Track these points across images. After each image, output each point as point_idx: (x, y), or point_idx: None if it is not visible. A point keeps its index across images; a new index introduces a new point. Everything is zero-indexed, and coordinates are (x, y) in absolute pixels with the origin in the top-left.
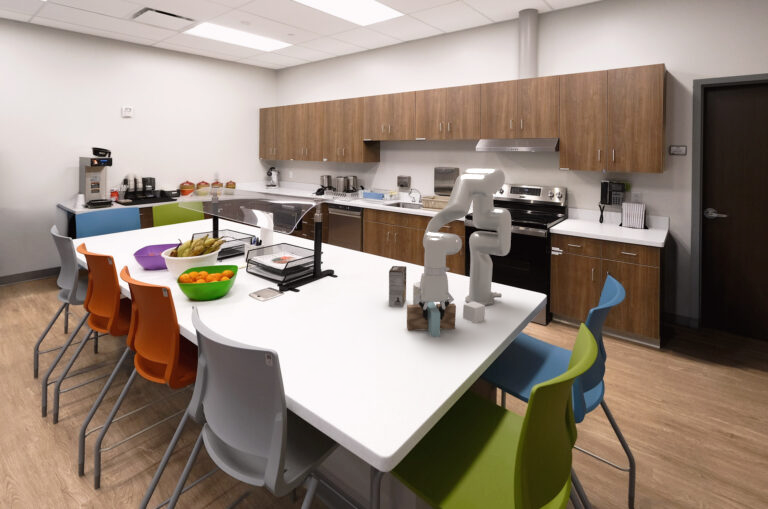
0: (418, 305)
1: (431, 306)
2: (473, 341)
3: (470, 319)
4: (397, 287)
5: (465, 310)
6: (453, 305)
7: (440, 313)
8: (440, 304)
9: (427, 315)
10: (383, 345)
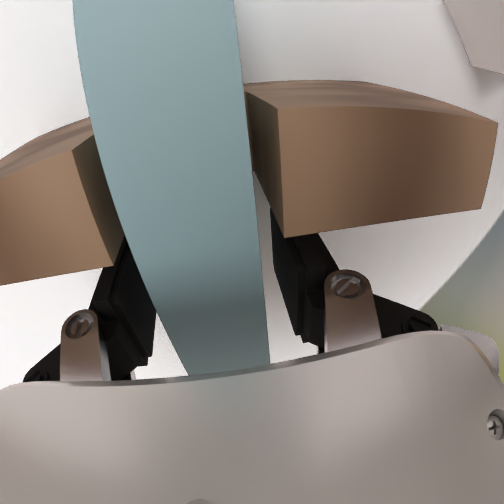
0: (6, 229)
1: (183, 246)
2: (385, 281)
3: (468, 41)
4: None
5: (484, 2)
6: (471, 192)
7: (285, 290)
8: (324, 308)
9: (153, 318)
10: (30, 337)
